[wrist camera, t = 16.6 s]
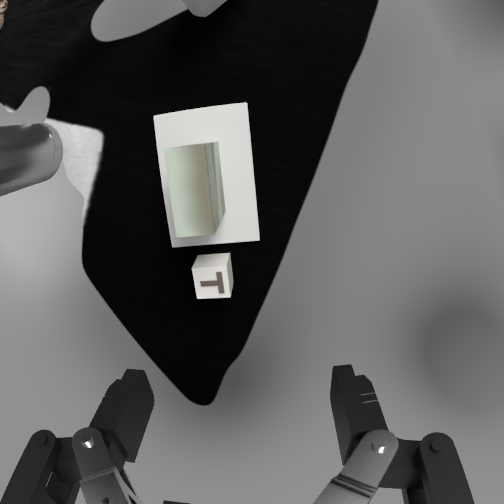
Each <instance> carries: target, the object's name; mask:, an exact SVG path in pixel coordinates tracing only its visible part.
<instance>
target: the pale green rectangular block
mask: <svg viewBox="0 0 504 504" xmlns="http://www.w3.org/2000/svg"><path fill="white" fill-rule="evenodd" d="M164 154H165V162H166V170H167V177H168V185H169V192H170V199H171V205H172V212H173V219H174V225H175V231H176V237H189V236H201V235H214V234H215V233H216V231H217V228H218V226H219V224H220V222H221V220H222V217H223V215H224V213H225V211H226V209H225V200H224V191H223V181H222V172H221V162H220V153H219V143H218V141H216V142H208V143H200V144H192V145H185V146H180V147H175V148H170V149H165V150H164Z"/></svg>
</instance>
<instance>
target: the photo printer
mask: <svg viewBox="0 0 504 504" xmlns="http://www.w3.org/2000/svg"><path fill="white" fill-rule="evenodd" d="M226 1H227V0H183V2H184V3H185V4H186V6H187V7H188V9H189V10H190V12H191V13H192V14H194V15H196V16H200V17H202V16H203V17H206V16H208V15H209V14H211V13H212V12H213V11H215V10H216V9H217V8H218V7H220V6H221V5H222V4H223V3H224V2H226Z"/></svg>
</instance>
